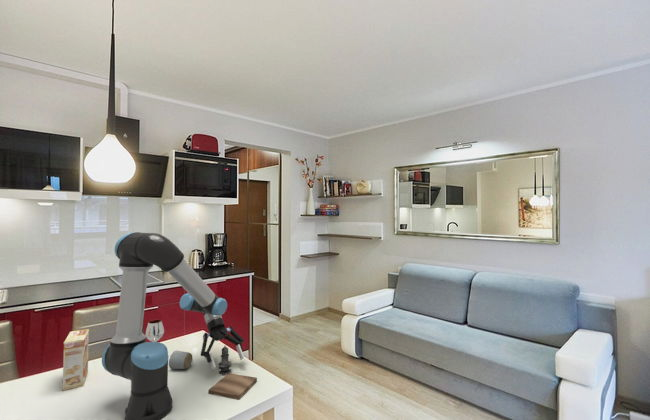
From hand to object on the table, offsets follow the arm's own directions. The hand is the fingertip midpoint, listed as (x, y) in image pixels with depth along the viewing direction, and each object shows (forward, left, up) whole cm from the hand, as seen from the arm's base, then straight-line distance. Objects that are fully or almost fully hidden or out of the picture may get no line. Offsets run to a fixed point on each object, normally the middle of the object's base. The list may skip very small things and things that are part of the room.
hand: (228, 363), depth 140 cm
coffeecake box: (-23, +60, -5) cm, 65 cm away
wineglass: (+4, +45, -5) cm, 46 cm away
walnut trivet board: (-8, -8, -5) cm, 12 cm away
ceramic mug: (0, +25, -5) cm, 26 cm away
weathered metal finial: (+2, +3, -5) cm, 6 cm away
